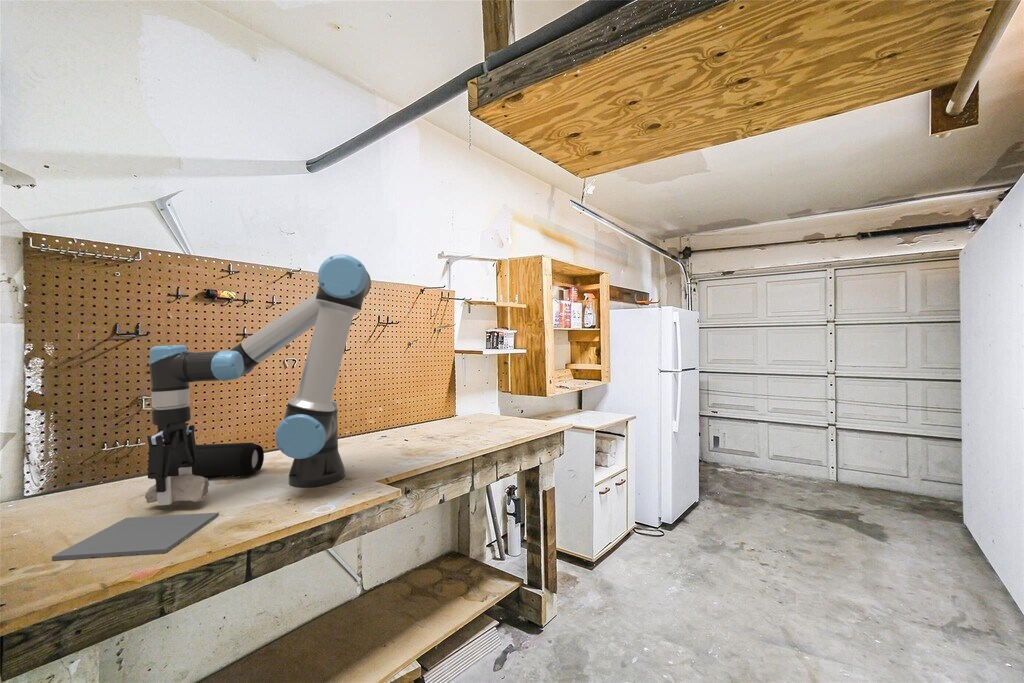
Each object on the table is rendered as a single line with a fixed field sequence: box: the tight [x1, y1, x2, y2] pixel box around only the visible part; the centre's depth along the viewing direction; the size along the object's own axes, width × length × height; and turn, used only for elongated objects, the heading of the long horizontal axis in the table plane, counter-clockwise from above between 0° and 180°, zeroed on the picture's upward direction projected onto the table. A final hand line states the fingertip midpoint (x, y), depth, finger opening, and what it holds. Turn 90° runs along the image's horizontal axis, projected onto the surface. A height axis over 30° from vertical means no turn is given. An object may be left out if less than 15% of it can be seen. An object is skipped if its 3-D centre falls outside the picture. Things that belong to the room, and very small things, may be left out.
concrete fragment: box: [144, 474, 210, 504], centre depth 108 cm, size 7×14×6 cm, turn 83°
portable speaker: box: [162, 442, 265, 479], centre depth 132 cm, size 26×10×10 cm, turn 96°
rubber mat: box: [51, 512, 220, 562], centre depth 92 cm, size 20×18×1 cm
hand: (175, 498), depth 108 cm, fingers closed on concrete fragment, 7 cm apart
